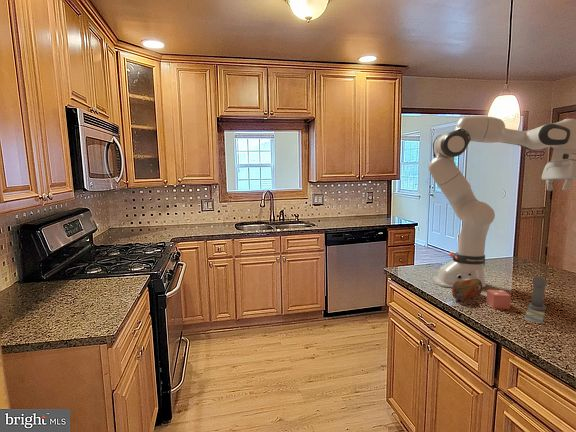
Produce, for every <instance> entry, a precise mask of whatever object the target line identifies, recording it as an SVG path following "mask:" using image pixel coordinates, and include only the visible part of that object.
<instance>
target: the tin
mask: <svg viewBox="0 0 576 432" xmlns="http://www.w3.org/2000/svg"><path fill="white" fill-rule="evenodd" d="M451 288H452V289H451V290H452V291H451V294H452V297H453V298H454V299H455V300H458V301H460V302H465V301H466V302H467V301H470V300H473V299H474V298H473V297H476V296H480V295H481V294H482V292H483V291H482V290H483V287H482V283H481V281H480V280H479V279H476V278H467V279H463V280H458V281H456V282H455V283H454V285H453V287H451Z"/></svg>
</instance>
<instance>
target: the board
mask: <svg viewBox="0 0 576 432" xmlns="http://www.w3.org/2000/svg"><path fill="white" fill-rule="evenodd" d="M527 308H528V309H526V313H525V316H524V320H525V321H530V322H533V323H538V324H543V322H544V318H545V313H546V309H547V308H546V309H545V311H537V310H533V309H531V308H529V306H528V307H527Z"/></svg>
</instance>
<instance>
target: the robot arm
mask: <svg viewBox="0 0 576 432" xmlns="http://www.w3.org/2000/svg"><path fill="white" fill-rule="evenodd" d="M470 142H477V143H489V144H493V143H503V144H508V145H513V146H515V145H516V146H519V147H521V148H524V149H526V150H527V151H530V152H536V151H540V150H543V149H546V148H553V150H552V154H551V159H550V160H549V162H547V163H546V165H544V169H543V171H542V174H541V180H542V181H546V190H547V191H553V190H554V186H553V185H554V184H553V183H554V182H556V181H564V182H563V183H564V184H563V185H561V190H562V191H568V190H569V187H570V186H571V184H572V183H573V180H576V118H565V119H563V120H560V121H557V122H552V123H547V124H543V125H541V126H539V127H535V128H530V129H528V130H517V129H510V128H506V124H505V122H504V121H503V120H502V119H501V118H497V117H493V116H488V115H487V116H486V115H469V116H468V115H467V116H462V117H461V118H459V119H458V120H457V122H456V123H455V127H454V129H453V130H452V131H448V132H444V133H442V134H440V135H438V136H437V137H435V139H434V140H433V143H432V151H433V155H432V156H433V159H431V161H430V162H429V164H428V170H429V173H430V175H431V177H432V178H433V180H434V182H435V183H436V185H437V186H438V188H439V189H440V190H441V192H442V193H443V195H444V196H445V197H446V199H447V200H448V202H449V204H450V206H451V208H452V209H453V211H454V213H455V214H456V216H457V217H458V219H459V220H460V221H462V222H463V223H462V228H461V231H460V233H459V235H458V241H457V252H453V251H450V252H449V256H450V257H451V258H452V260H450V261H449V262H447V263H445V264H444V265H442V266H440V268H439V270H438V273H437V274H438V275H434V276H432V280H433V282H434V283H435V284H436V285H438V286H440V287H443V288H452V287H453V285H454V283H455V282H456V281H458V280H463V279H467V278H476V279H479V280H480V281H481V283H482V288H485V287H486V286H487V283H486V278H485V264H486V255H485V248H486V241H487V240H486V238H487V234H488V232H489V229H490V226H491V224H492V223H493V222H494V220H495V216H496V213H495V211H494V209H493V207H491V206H490V205H489V204H488V203H487V202H483V201H480V200H479V199H477V198H476V196H475V195H474V191H473V190H472V187H471V184H470V183H469V181H468V180H467V178H466V177H465V176H464V175H463V173H462V171H461V170H460V169H459V168H458V166H457V164H456V162H455V158H456V157H459V156H461V155H463V153H465V151H467V147H468V145H469V143H470Z"/></svg>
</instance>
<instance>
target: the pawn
mask: <svg viewBox="0 0 576 432" xmlns="http://www.w3.org/2000/svg"><path fill="white" fill-rule="evenodd" d="M547 284H548V281H547V280H546V278H544V277H543V276H535V277H533V279H532V294H531V295H532V296H531V302H529V303H528V307H529V308H531V309H530V310H532V309H533V310H534V311H536V310H537V311H538V312H541V311H545V312H546V310H545V309H547V308H546V305H545V304H544V301H545V293H546V286H547Z"/></svg>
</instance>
